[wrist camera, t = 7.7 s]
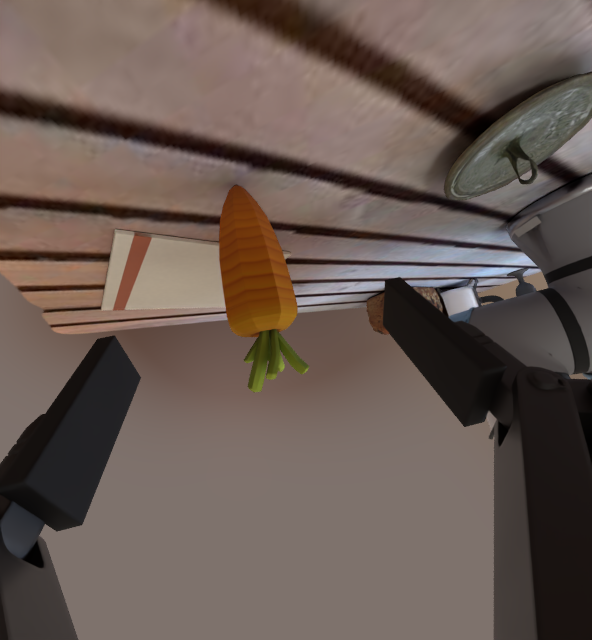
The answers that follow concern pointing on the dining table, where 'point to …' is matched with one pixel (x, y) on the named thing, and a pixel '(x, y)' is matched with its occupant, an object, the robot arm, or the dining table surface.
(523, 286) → the sundae
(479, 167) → the lid
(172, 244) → the napkin
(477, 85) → the dining table surface
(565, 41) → the dining table surface
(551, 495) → the robot arm
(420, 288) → the bread
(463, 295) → the coffee press
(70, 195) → the dining table surface
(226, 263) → the carrot
